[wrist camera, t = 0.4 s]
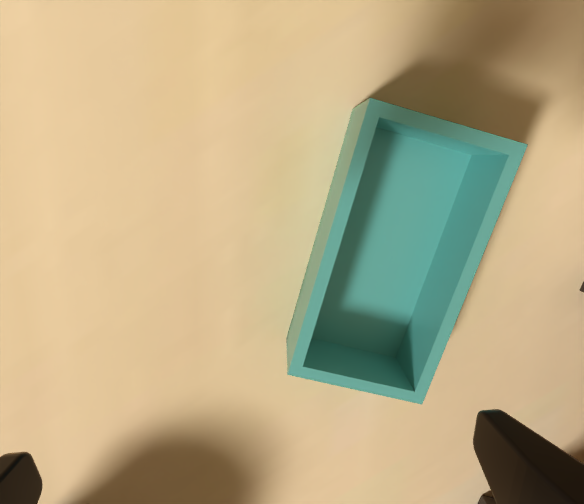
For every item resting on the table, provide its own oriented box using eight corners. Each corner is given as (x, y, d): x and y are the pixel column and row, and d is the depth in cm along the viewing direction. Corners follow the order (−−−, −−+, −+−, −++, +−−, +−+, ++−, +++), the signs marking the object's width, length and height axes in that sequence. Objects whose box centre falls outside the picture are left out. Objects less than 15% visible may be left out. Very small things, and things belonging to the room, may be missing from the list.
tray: (478, 146, 20) (527, 144, 16) (398, 361, 23) (422, 404, 19) (351, 109, 19) (369, 97, 15) (286, 335, 22) (287, 374, 18)
